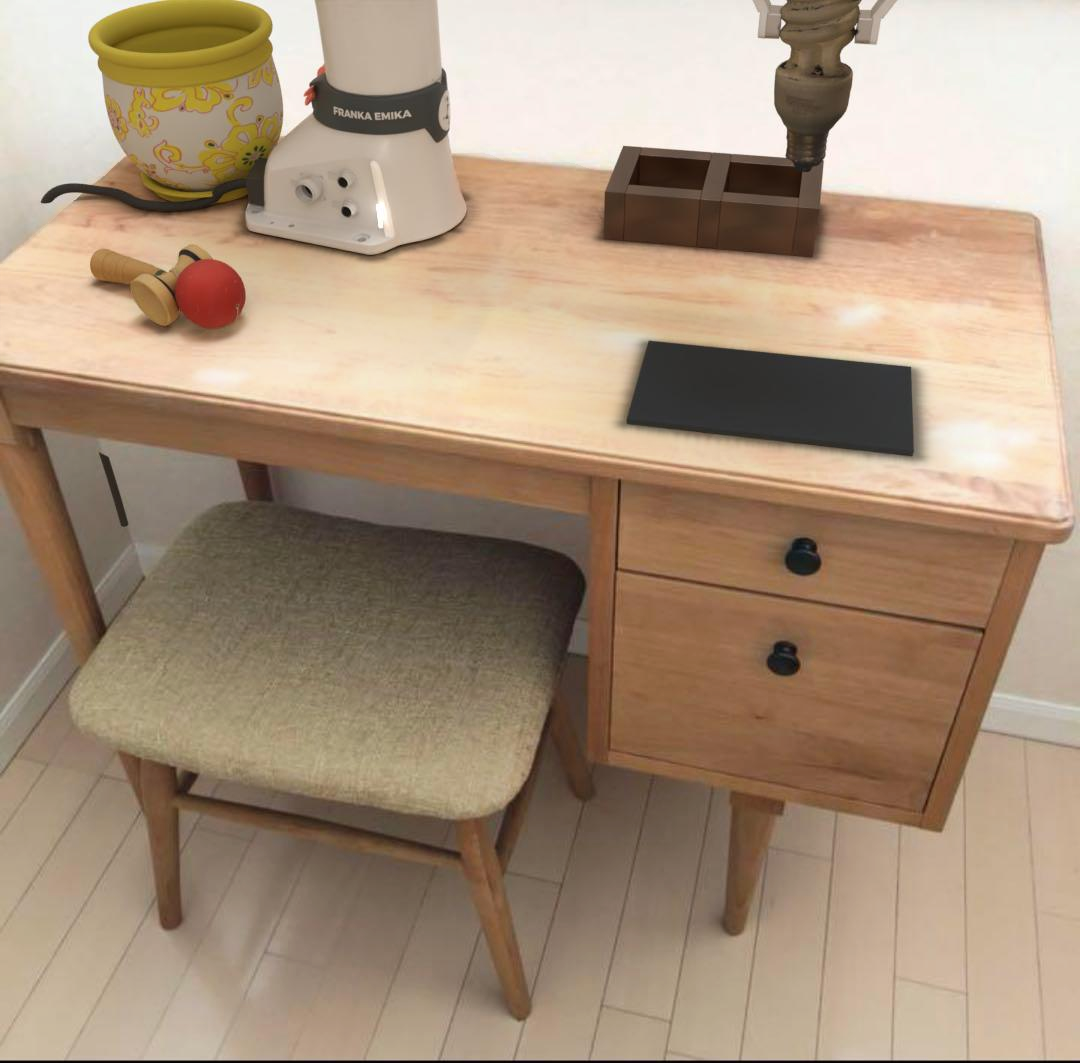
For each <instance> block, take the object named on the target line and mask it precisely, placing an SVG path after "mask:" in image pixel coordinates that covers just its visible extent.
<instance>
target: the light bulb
mask: <svg viewBox="0 0 1080 1063" xmlns="http://www.w3.org/2000/svg"><path fill="white" fill-rule="evenodd" d="M862 1H863V0H786V3H784V4H783V5H782V6H783V7H782V8H781V9H780V12H781V16H782V17H781V18H782V19H781V21H783V22H784V25H783V26H781V30H780V35H779V36H780V37H779V39H780V40H781V42H782V43H784V44H785V45H788V46H789V47H790V55H789V58H788V59H786V60H784V61H782V62H781V63H779V64H778V65H777V67H776V68H775V72H774V85H773V106H774V109H775V110H776V113H777V115H778V116H779V117H780V119H781V122H782V124H783V125H784V127H786V137H785V138H786V150H785V155H784V157H785V158H788V159H789V160H791V161H792V162H793V164H794V170H796V171H802V172H810V171H811V169H812V167H814V166H818V165H819V164H820V163H821V162H822V161H823V160H825V158H826V155H827V154H826V151H827V142H828V137H829V134H830V131H831V130H832V129H833V128H834V126H835V125H836V124H837V123H838V122H839V121H840V120H841V118H843V116H844V115H845V113H846V112H847V110H848V107H849V102H850V98H851V91H852V87H853V79H854V78H853V77H854V70H853V69H852V68H851V66H850V65H848V64H847V63H845V62H843V61H842V60H841V53H842V51H843V50H844V48H845V47H847V46H848V45H849V44H851V42H853V40H855V33H856V26H857V22H858V16H859V15H860V10H861V9H860V6H859V5H860V4H861V2H862Z"/></svg>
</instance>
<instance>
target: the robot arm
mask: <svg viewBox="0 0 1080 1063" xmlns="http://www.w3.org/2000/svg"><path fill="white" fill-rule="evenodd" d="M897 2H898V0H877V1H876V2H875V3H874V4H873V6H872V7H871V9H860V15H859V16H858V22H857V24H856V26H855V30H856V33H855V36H854V44H856V45H857V44H858V45H873V46H874V45H875V46H877V44H878V40H879V33H880V29H881V21H882V20H883V19H884V18H885V17H886V16H887V15H888V13H889V12H890V10H892V8H893V7H894V5H895V4H896V3H897ZM752 3H753V4H754V7H755V9H756V11H757V13H759V17H758V28H757V39H762V40H764V39H765V40H766V39H770V40H772V39H773V40H780V36H779V35H780V30H781V29H782V18H781V17H782V16H781V12H780V9H781V8H782V7H783V6H784V5H780V4H779V5H777V4H772V2H771V0H752ZM314 4H315V9H316V16H317V23H318V28H319V35H320V42H321V49H322V56H323V62H324V63H323V65H322V66H321V67H319V68H318V69H317V73H316V76H315V78H313V79H312V80H311V81H310V82H309V85H308V87H309V88H308V89H306V90H305V91H304V93H303V97H305V99H304V106H305V107H306V106H309V105H310V104H311V108H312V112H311V113H310V114H308V115H307V117H305V118H304V119H303V120H301V121H300V122H299V123H298V124H297V125H296V126H295V127H294V128H293V129H292V130H290V131H289V132H288V133H287V134H286V135H284V137H283V138H282V139H281V140H279V141H278V143H277V145H276V146H275V147H274V149H273V150H272V152H271V153H270V155H269V157H268V158H259V159H258V160H257V162H256V163H255V164H254V166H253V167H252V169H251V170H250V172H249V173H248V174H247V176H246V177H245V178H242V179H237V180H232V181H229V182H226V183H223V184H221V185H219V186H217V187H216V188H215V189H214V190H213V192H212V194H213V196H212V197H205V198H200V199H196V200H191V201H182V202H171V201H166V200H165V201H164V200H163V201H162V200H148V199H143V198H140V197H137V196H134V195H133V194H131V193H129V192H127V191H125V190H123V189H120V188H117V187H116V188H115V187H110V186H102V185H94V184H88V183H80V182H79V183H78V182H75V183H74V182H69V183H62V184H59V185H55V186H54V187H52V188H50V189H49V190H47V192H45V194H44V195H43V196H42V198H41V200H40V204H51V203H53V201H55V199H57V198H58V197H60V196H62V195H66V194H73V193H74V194H87V195H93V196H94V195H95V196H102V197H109V198H115V199H117V200H120V201H122V202H124V203H126V204H128V205H130V206H132V207H135V208H137V209H142V210H147V211H160V212H186V211H193V210H198V209H205V208H207V207H210V206H212V205H214V203H216V202H217V201H218V200H219V199H220V198H221V196H222V195H224V194H225V193H227V192H230V191H232V190H236V189H241V188H246V187H247V193H248V195H247V196H248V197H247V199H248V203H247V205H246V208H245V213H244V216H245V226H246V228H247V230H248V231H250V232H253V233H258V234H262V235H266V236H272V237H278V238H283V239H287V240H292V241H297V242H303V243H307V244H312V245H318V246H322V247H328V248H331V249H332V248H333V249H338V250H342V251H347V252H353V253H356V254H357V253H358V254H362V255H369V256H371V255H373V256H374V255H378V254H382V253H384V252H387V251H389V250H392V249H394V248H397V247H399V246H400V245H401V246H402V245H405V244H410V243H415V242H421V241H424V240H429V239H431V238H434V237H437V236H440V235H442V234H445V233H447V232H448V231H450V230H452V229H453V228H455V227H456V226H457V225H459V224H460V223H461V222H462V221H463V219H464V218H465V217H466V214H467V210H468V207H467V203H466V200H465V198H464V196H463V193H462V190H461V187H460V184H459V179H458V176H457V172H456V168H455V164H454V159H453V153H452V149H451V143H450V137H449V133H450V126H451V100H450V92H449V91H450V90H449V89H448V78H447V72H446V70H445V69H444V67H442V66H443V65H442V51H441V36H440V35H441V34H440V20H439V19H440V18H439V4H438V0H314ZM216 204H217V203H216ZM98 455H99V458H100V461H101V464H102V467H103V470H104V473H105V477H106V480H107V483H108V487H109V490H110V493H111V496H112V499H113V504H114V506H115V507H114V508H115V510H116V513H117V518H118V520H119V524H120V526H121V527H122V528H126V527H127V526H129V521H128V516H127V514H126V510H125V506H124V503H123V498H122V496H121V492H120V489H119V485H118V483H117V479H116V475H115V473H114V469H113V466H112V462H111V459H110V457H109V456H108V455H106V454H105V453H102V452H101V451H99V452H98Z"/></svg>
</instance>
